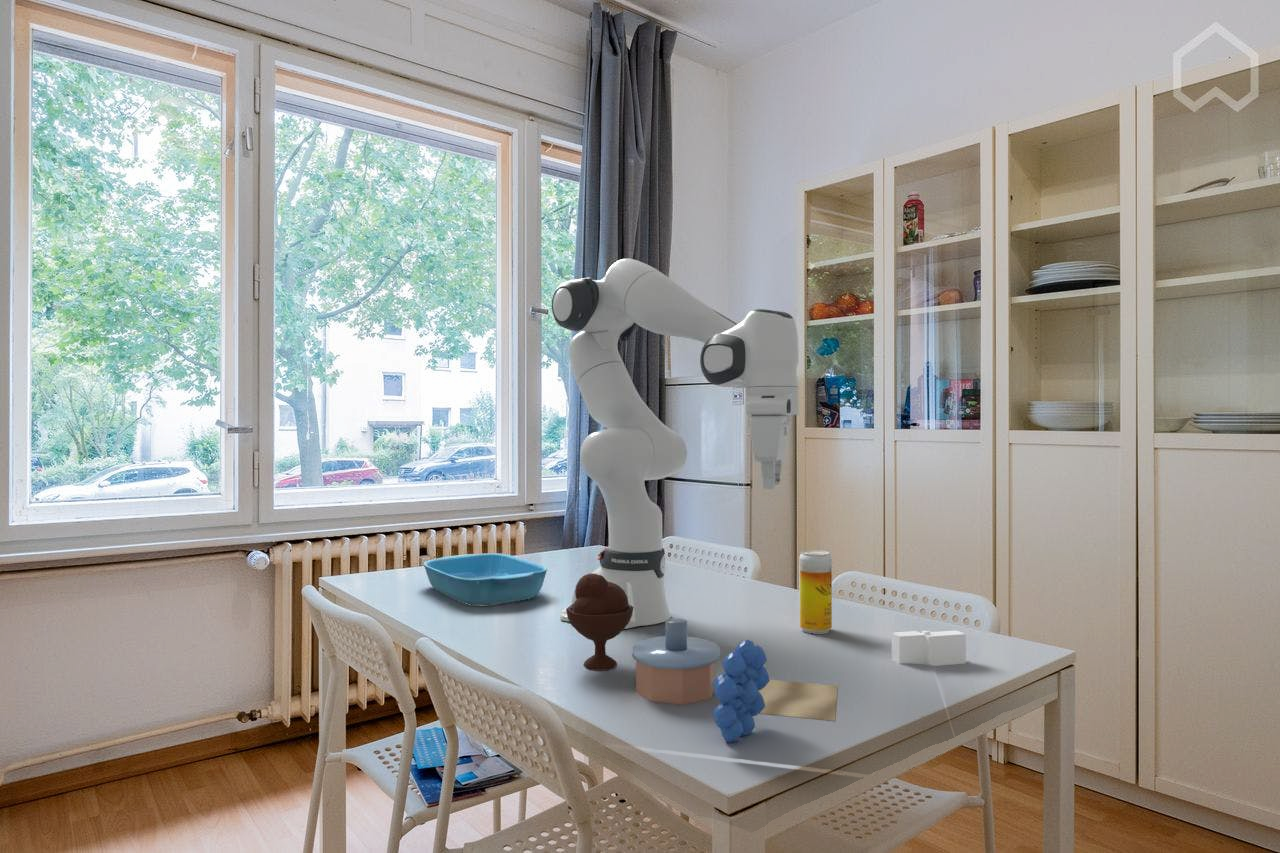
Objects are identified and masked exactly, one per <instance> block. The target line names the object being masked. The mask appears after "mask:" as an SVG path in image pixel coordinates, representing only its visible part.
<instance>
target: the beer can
mask: <svg viewBox="0 0 1280 853" xmlns="http://www.w3.org/2000/svg"><path fill="white" fill-rule="evenodd" d="M832 564H833V563H832V556H831V555H830V552H829V551H826V550H816V549H813V550H812V549H809V550H806V549H805V550H803V551H801V552H800V555H799V557H798V597H799V598H798V600H799V601H798V610H799V611H798V624H799V625H798V626H799V627H800V628H801V631H802V630H803V631H802V632H804V633H807V634H811V633H813V634H814V635H822V634H828V633H829V632H830V630H831V629H832V626H833V624H832V623H833V621H832V620H833V619H832V618H833V617H832V616H833V615H832V613H833V612H832V610H833V609H832V607H833V603H832V602H833V600H832V596H833V595H832V592H833V591H832V588H833V587H832V584H833V583H832V579H833V578H832V576H833V574H832V571H833V569H832V568H833V567H832ZM813 634H812V635H813Z"/></svg>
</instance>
